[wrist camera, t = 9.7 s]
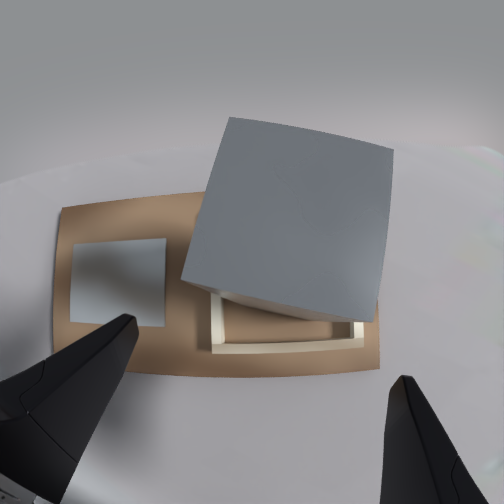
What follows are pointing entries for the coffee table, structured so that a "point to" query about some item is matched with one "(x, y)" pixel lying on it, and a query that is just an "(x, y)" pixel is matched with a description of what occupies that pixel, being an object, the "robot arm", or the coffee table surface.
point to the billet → (294, 222)
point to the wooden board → (183, 300)
